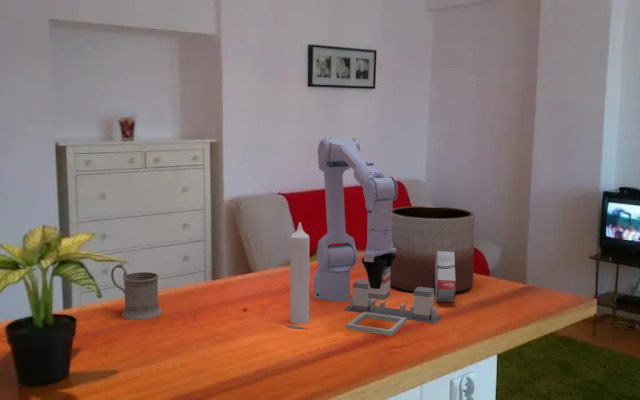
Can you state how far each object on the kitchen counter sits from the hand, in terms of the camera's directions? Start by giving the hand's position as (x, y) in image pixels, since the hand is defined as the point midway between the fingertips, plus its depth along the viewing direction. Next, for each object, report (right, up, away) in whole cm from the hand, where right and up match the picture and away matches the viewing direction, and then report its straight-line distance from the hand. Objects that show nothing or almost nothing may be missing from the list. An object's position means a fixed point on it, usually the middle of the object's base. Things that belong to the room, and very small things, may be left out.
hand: (378, 286), depth 155 cm
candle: (-19, -10, +4) cm, 22 cm away
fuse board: (+4, -9, +11) cm, 15 cm away
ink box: (+19, -6, +18) cm, 27 cm away
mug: (-61, -9, +13) cm, 63 cm away
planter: (+19, -5, +42) cm, 46 cm away
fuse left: (-3, -8, +14) cm, 16 cm away
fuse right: (+12, -9, +7) cm, 16 cm away
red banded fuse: (0, -3, 0) cm, 3 cm away
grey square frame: (0, -10, +1) cm, 10 cm away
